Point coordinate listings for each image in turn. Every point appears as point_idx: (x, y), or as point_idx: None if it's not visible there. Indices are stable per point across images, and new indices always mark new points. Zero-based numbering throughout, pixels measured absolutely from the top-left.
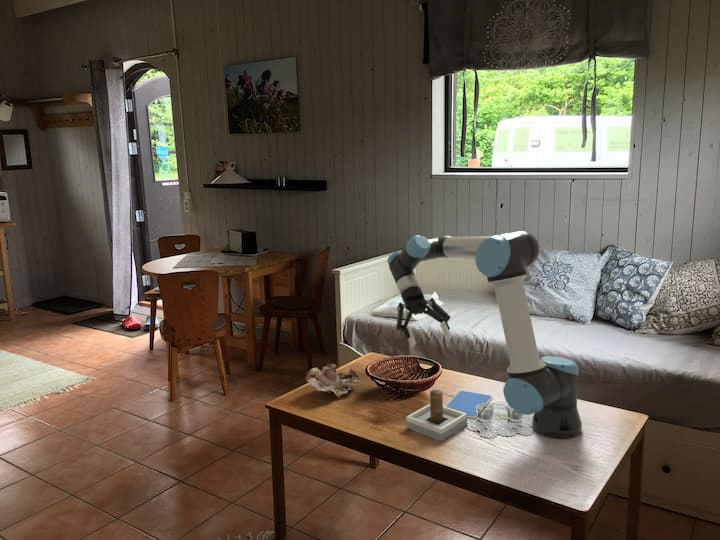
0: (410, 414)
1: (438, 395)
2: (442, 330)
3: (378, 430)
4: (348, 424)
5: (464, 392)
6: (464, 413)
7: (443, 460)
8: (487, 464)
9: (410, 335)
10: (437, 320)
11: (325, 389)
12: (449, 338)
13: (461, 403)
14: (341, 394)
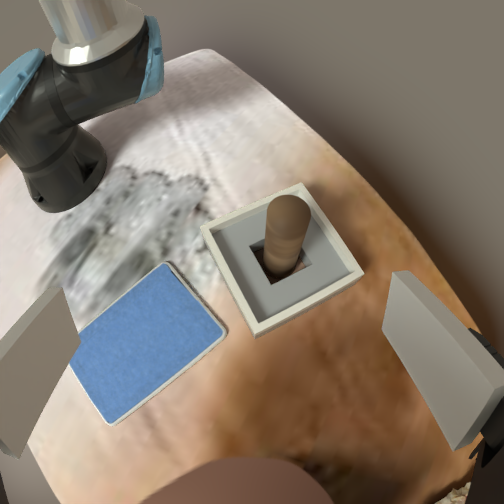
0: (350, 281)
1: (289, 196)
2: (40, 411)
3: None
4: None
5: (106, 407)
6: (204, 230)
7: (320, 146)
8: (254, 117)
9: (453, 325)
10: (4, 501)
11: None
12: (64, 305)
13: (150, 350)
14: (448, 494)
